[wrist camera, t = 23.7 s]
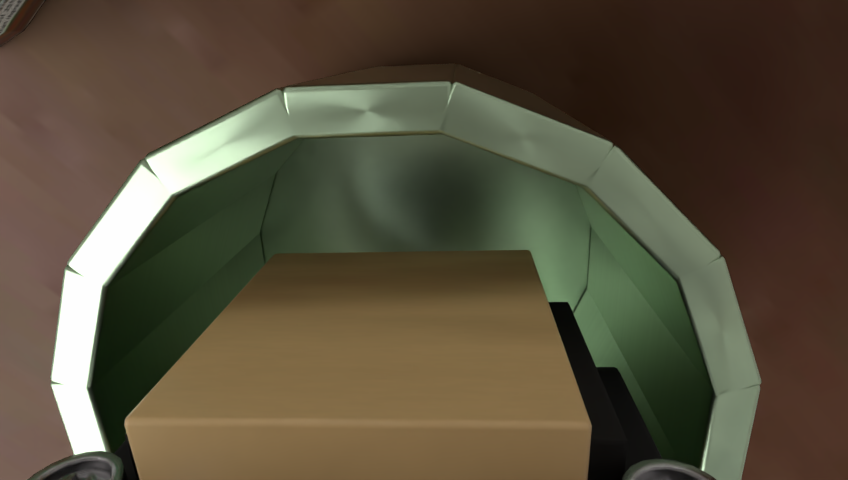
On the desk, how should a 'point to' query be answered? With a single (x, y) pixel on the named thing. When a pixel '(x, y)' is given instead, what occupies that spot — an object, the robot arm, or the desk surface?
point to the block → (372, 377)
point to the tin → (407, 242)
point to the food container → (16, 17)
